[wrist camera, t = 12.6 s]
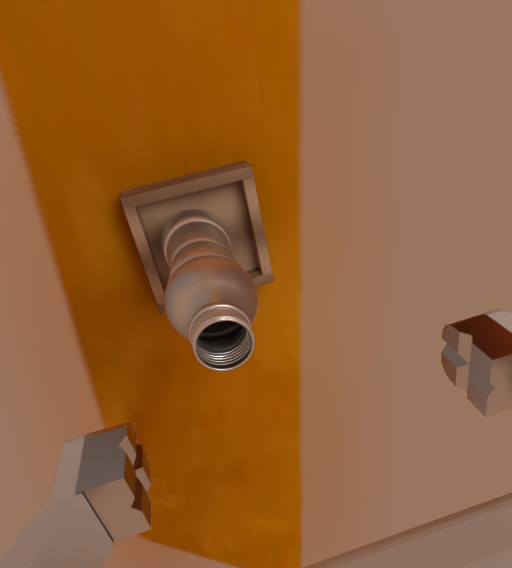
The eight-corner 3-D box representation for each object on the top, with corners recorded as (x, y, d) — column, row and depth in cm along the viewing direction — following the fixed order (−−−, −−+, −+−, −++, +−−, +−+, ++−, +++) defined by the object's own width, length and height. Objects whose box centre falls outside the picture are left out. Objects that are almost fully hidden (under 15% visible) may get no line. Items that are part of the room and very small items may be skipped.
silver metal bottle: (194, 278, 44) (222, 409, 26) (145, 233, 41) (140, 348, 23) (240, 236, 43) (301, 344, 25) (194, 187, 40) (227, 271, 22)
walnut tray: (122, 191, 40) (119, 198, 37) (244, 160, 41) (251, 166, 38) (160, 299, 45) (160, 313, 42) (267, 269, 46) (274, 281, 44)
